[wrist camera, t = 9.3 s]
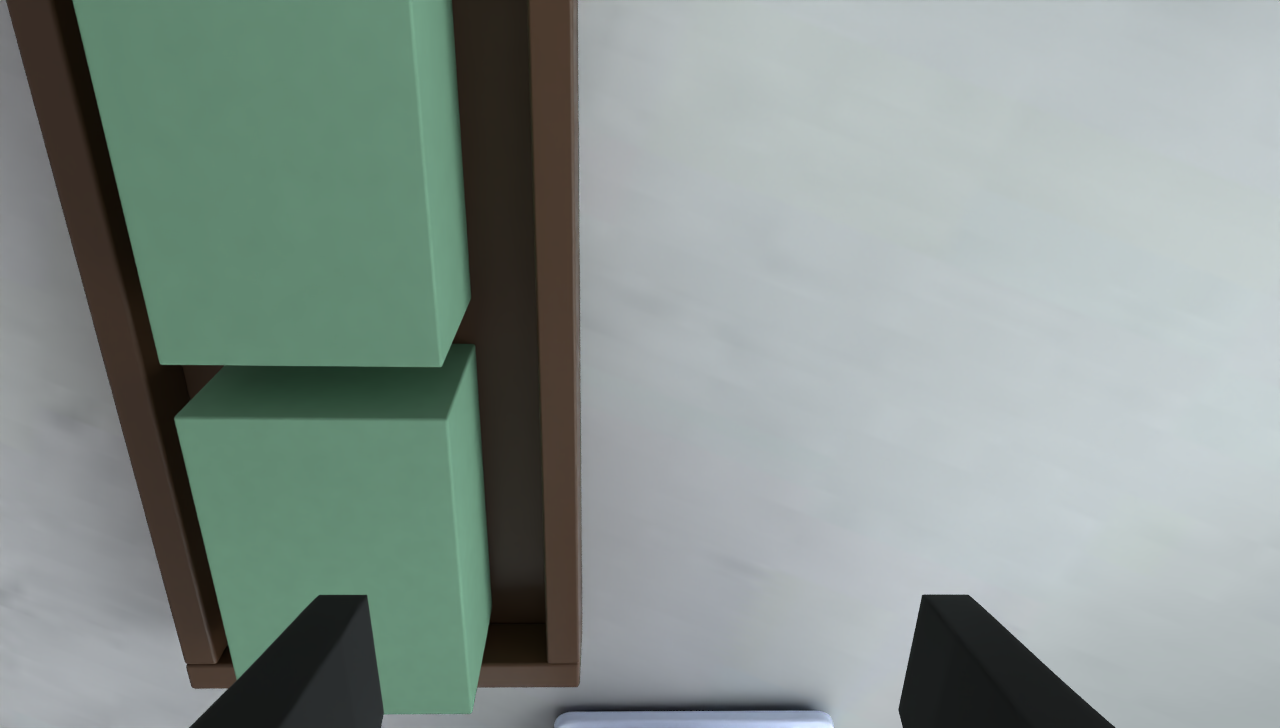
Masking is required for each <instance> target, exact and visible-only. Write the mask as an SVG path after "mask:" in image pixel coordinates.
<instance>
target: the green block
mask: <svg viewBox="0 0 1280 728" xmlns="http://www.w3.org/2000/svg"><path fill="white" fill-rule="evenodd" d="M174 421H175V425H176V429H177V433H178V437H179V441H180V446H181V450H182V454H183V458H184V462H185V467H186V471H187V475H188V479H189V483H190V487H191V492H192V496H193V500H194V504H195V508H196V513H197V517H198V521H199V525H200V529H201V533H202V538H203V542H204V546H205V550H206V554H207V559H208V563H209V567H210V571H211V575H212V579H213V584H214V588H215V592H216V596H217V600H218V604H219V609H220V613H221V617H222V621H223V625H224V630H225V634H226V638H227V642H228V646H229V650H230V655H231V659H232V663H233V667H234V671H235V676H236V680H237V679H238V678H239V677H240V676H241V675H242V674H243V673H244V672H245V671H246V670H247V669H248V668H249V667H250V666H251V665H252V664H253V663H254V662H255V661H256V660H257V659H258V658H259V657H260V656H261V655H262V653H263V652H264V651H265V650H266V649H267V648H268V647H269V646H270V645H271V644H272V643H273V642H274V641H275V640H276V639H277V638H278V637H279V636H280V634H281V633H282V632H283V631H284V630H285V629H286V628H287V627H288V626H289V625H290V624H291V623H292V622H293V621H294V620H295V619H296V617H297V616H298V615H299V614H300V613H301V612H302V611H303V610H304V609H305V608H306V607H307V606H308V605H309V604H310V603H311V602H312V601H313V600H314V599H315V598H316V597H317V596H318V595H367V597H368V604H369V611H370V618H371V625H372V632H373V639H374V646H375V653H376V660H377V667H378V674H379V681H380V688H381V695H382V701H383V708H384V714H471V713H472V711H473V706H474V700H475V695H476V690H477V685H478V679H479V674H480V669H481V664H482V658H483V653H484V648H485V643H486V637H487V632H488V627H489V622H490V616H491V611H492V596H491V580H490V565H489V549H488V534H487V518H486V503H485V487H484V472H483V456H482V441H481V425H480V410H479V395H478V379H477V364H476V348H475V345H474V344H451V346H450V349H449V351H448V353H447V356H446V358H445V360H444V363H443V365H442V366H441V367H363V366H255V365H225V366H224V367H223V368H222V369H221V370H220V371H219V372H218V373H217V374H216V375H215V376H214V377H213V378H212V379H211V380H210V381H209V382H208V383H207V384H206V385H205V386H204V387H203V388H202V389H201V390H200V391H199V392H198V393H197V394H196V395H195V396H194V397H193V399H192V400H191V401H190V402H189V403H188V404H187V405H186V406H185V407H184V408H183V409H182V410H181V411H180V412H179V413H178V414H177V415H176V416H175V418H174Z"/></svg>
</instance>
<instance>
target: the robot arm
mask: <svg viewBox="0 0 1280 728" xmlns="http://www.w3.org/2000/svg"><path fill="white" fill-rule="evenodd" d="M898 710H899V714H900V718H901V722H902V726H903V728H1115V727H1114V726H1113V725H1112V724H1111V723H1109V722H1108V721H1107V720H1106V719H1105V718H1104V717H1103V716H1101V715H1100V714H1099V713H1098V712H1097V711H1096V710H1095V709H1093V708H1092V707H1091V706H1090V705H1089V704H1088V703H1087V702H1085V701H1084V700H1083V699H1082V698H1081V697H1080V696H1079V695H1078V694H1076V693H1075V692H1074V691H1073V690H1072V689H1071V688H1070V687H1069V686H1068V685H1066V684H1065V683H1064V682H1063V681H1062V680H1061V679H1060V678H1059V677H1058V676H1057V675H1055V674H1054V673H1053V672H1052V671H1051V670H1050V669H1049V668H1048V667H1047V666H1046V665H1045V664H1043V663H1042V662H1041V661H1040V660H1039V659H1038V658H1037V657H1036V656H1035V655H1034V654H1033V653H1032V652H1030V651H1029V650H1028V649H1027V648H1026V647H1025V646H1024V645H1023V644H1022V643H1021V642H1020V641H1019V640H1018V639H1016V638H1015V637H1014V636H1013V635H1012V634H1011V633H1010V632H1009V631H1008V630H1007V629H1006V628H1005V627H1004V626H1002V625H1001V624H1000V623H999V622H998V621H997V620H996V619H995V618H994V617H993V616H992V615H991V614H990V613H988V612H987V611H986V610H985V609H984V608H983V607H982V606H981V605H980V604H978V603H977V602H976V601H975V600H974V599H973V598H972V597H970V596H969V595H922V599H921V604H920V609H919V613H918V618H917V623H916V628H915V633H914V637H913V642H912V647H911V652H910V657H909V661H908V666H907V671H906V676H905V681H904V685H903V690H902V695H901V700H900V704H899V709H898ZM383 715H384V708H383V701H382V695H381V688H380V681H379V674H378V667H377V660H376V653H375V646H374V639H373V632H372V625H371V618H370V611H369V604H368V597H367V595H318V596H317V597H316V598H315V599H314V600H313V601H312V602H311V603H310V604H309V605H308V606H307V607H306V608H305V609H304V610H303V611H302V612H301V613H300V614H299V615H298V616H297V617H296V619H295V620H294V621H293V622H292V623H291V624H290V625H289V626H288V627H287V628H286V629H285V630H284V631H283V632H282V633H281V634H280V636H279V637H278V638H277V639H276V640H275V641H274V642H273V643H272V644H271V645H270V646H269V647H268V648H267V649H266V650H265V651H264V652H263V653H262V655H261V656H260V657H259V658H258V659H257V660H256V661H255V662H254V663H253V664H252V665H251V666H250V667H249V668H248V669H247V670H246V671H245V672H244V673H243V674H242V675H241V676H240V677H239V678H238V679H237V680H236V681H235V682H234V683H233V684H232V685H231V686H230V687H229V688H228V689H227V690H226V691H225V692H224V693H223V694H222V695H221V696H220V697H219V698H218V699H217V700H216V701H215V702H214V703H213V705H212V706H211V707H210V708H209V709H208V710H207V711H206V712H205V713H204V714H203V715H202V716H201V717H200V718H199V719H198V720H197V721H196V722H195V723H193V724H192V725H191V726H190V727H189V728H381V724H382V719H383ZM554 728H834V725H833V721H832V718H831V717H830V715H829V714H827V713H825V712H823V711H613V712H567V713H564V714H562V715H560V716H559V717H558V718H557V719H556V721H555V725H554Z"/></svg>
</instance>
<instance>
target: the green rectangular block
mask: <svg viewBox="0 0 1280 728" xmlns="http://www.w3.org/2000/svg"><path fill="white" fill-rule="evenodd" d="M72 1H73V5H74V9H75V13H76V17H77V21H78V26H79V30H80V34H81V38H82V42H83V46H84V51H85V55H86V59H87V63H88V67H89V71H90V76H91V80H92V84H93V88H94V92H95V96H96V101H97V105H98V109H99V113H100V117H101V121H102V126H103V130H104V134H105V138H106V142H107V146H108V151H109V155H110V159H111V163H112V167H113V171H114V176H115V180H116V184H117V188H118V192H119V196H120V201H121V205H122V209H123V213H124V217H125V221H126V226H127V230H128V234H129V238H130V242H131V246H132V251H133V255H134V259H135V263H136V267H137V271H138V276H139V280H140V284H141V288H142V292H143V296H144V301H145V305H146V309H147V313H148V317H149V321H150V326H151V330H152V334H153V338H154V342H155V346H156V351H157V355H158V359H159V363H160V364H162V365H255V366H363V367H441V366H442V365H443V363H444V360H445V358H446V356H447V353H448V351H449V349H450V346H451V344H452V342H453V339H454V337H455V335H456V332H457V330H458V328H459V325H460V323H461V321H462V318H463V316H464V314H465V311H466V309H467V307H468V304H469V302H470V300H471V285H470V269H469V254H468V239H467V223H466V208H465V193H464V177H463V162H462V146H461V131H460V116H459V100H458V85H457V70H456V54H455V39H454V24H453V8H452V0H72Z"/></svg>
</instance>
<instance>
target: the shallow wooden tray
mask: <svg viewBox="0 0 1280 728" xmlns="http://www.w3.org/2000/svg"><path fill="white" fill-rule="evenodd" d="M6 2H7V6H8V10H9V14H10V17H11V21H12V25H13V28H14V32H15V36H16V39H17V43H18V47H19V50H20V54H21V58H22V62H23V65H24V69H25V73H26V76H27V80H28V84H29V87H30V91H31V95H32V98H33V102H34V106H35V110H36V113H37V117H38V121H39V124H40V128H41V132H42V135H43V139H44V143H45V147H46V150H47V154H48V158H49V161H50V165H51V169H52V172H53V176H54V180H55V183H56V187H57V191H58V195H59V198H60V202H61V206H62V209H63V213H64V217H65V220H66V224H67V228H68V232H69V235H70V239H71V243H72V246H73V250H74V254H75V257H76V261H77V265H78V268H79V272H80V276H81V280H82V283H83V287H84V291H85V294H86V298H87V302H88V305H89V309H90V313H91V317H92V320H93V324H94V328H95V331H96V335H97V339H98V342H99V346H100V350H101V353H102V357H103V361H104V365H105V368H106V372H107V376H108V379H109V383H110V387H111V390H112V394H113V398H114V401H115V405H116V409H117V413H118V416H119V420H120V424H121V427H122V431H123V435H124V438H125V442H126V446H127V450H128V453H129V457H130V461H131V464H132V468H133V472H134V475H135V479H136V483H137V486H138V490H139V494H140V498H141V501H142V505H143V509H144V512H145V516H146V520H147V523H148V527H149V531H150V535H151V538H152V542H153V546H154V549H155V553H156V557H157V560H158V564H159V568H160V571H161V575H162V579H163V583H164V586H165V590H166V594H167V597H168V601H169V605H170V608H171V612H172V616H173V619H174V623H175V627H176V631H177V634H178V638H179V642H180V645H181V649H182V653H183V656H184V660H185V662H186V663H187V667H186V668H187V672H188V675H189V679H190V683H191V686H192V688H195V689H204V688H229V687H230V686H231V685H232V684H233V683H234V682H235V681H236V676H235V671H234V667H233V663H232V659H231V655H230V650H229V646H228V642H227V638H226V634H225V630H224V625H223V621H222V617H221V613H220V609H219V604H218V600H217V596H216V592H215V588H214V584H213V579H212V575H211V571H210V567H209V563H208V559H207V554H206V550H205V546H204V542H203V538H202V533H201V529H200V525H199V521H198V517H197V513H196V508H195V504H194V500H193V496H192V492H191V487H190V483H189V479H188V475H187V471H186V467H185V462H184V458H183V454H182V450H181V446H180V441H179V437H178V433H177V429H176V425H175V421H174V418H175V416H176V415H177V414H178V413H179V412H180V411H181V410H182V409H183V408H184V407H185V406H186V405H187V404H188V403H189V402H190V401H191V400H192V399H193V397H194V396H195V395H196V394H197V393H198V392H199V391H200V390H201V389H202V388H203V387H204V386H205V385H206V384H207V383H208V382H209V381H210V380H211V379H212V378H213V377H214V376H215V375H216V374H217V373H218V372H219V371H220V370H221V369H222V368H223V367H224V366H225V365H162V364H160V363H159V359H158V355H157V351H156V346H155V342H154V338H153V334H152V330H151V326H150V321H149V317H148V313H147V309H146V305H145V301H144V296H143V292H142V288H141V284H140V280H139V276H138V271H137V267H136V263H135V259H134V255H133V251H132V246H131V242H130V238H129V234H128V230H127V226H126V221H125V217H124V213H123V209H122V205H121V201H120V196H119V192H118V188H117V184H116V180H115V176H114V171H113V167H112V163H111V159H110V155H109V151H108V146H107V142H106V138H105V134H104V130H103V126H102V121H101V117H100V113H99V109H98V105H97V101H96V96H95V92H94V88H93V84H92V80H91V76H90V71H89V67H88V63H87V59H86V55H85V51H84V46H83V42H82V38H81V34H80V30H79V26H78V21H77V17H76V13H75V9H74V5H73V1H72V0H6ZM452 8H453V24H454V39H455V54H456V70H457V85H458V100H459V116H460V131H461V146H462V162H463V177H464V193H465V208H466V223H467V239H468V254H469V269H470V285H471V300H470V302H469V304H468V307H467V309H466V311H465V314H464V316H463V318H462V321H461V323H460V325H459V328H458V330H457V332H456V335H455V337H454V339H453V342H452V344H474V345H475V348H476V364H477V379H478V395H479V410H480V425H481V441H482V456H483V472H484V487H485V503H486V518H487V534H488V549H489V565H490V580H491V596H492V611H491V616H490V622H489V627H488V632H487V637H486V643H485V648H484V653H483V658H482V664H481V669H480V674H479V679H478V685H477V687H578V685H579V683H580V666H581V642H582V540H581V402H580V264H579V126H578V0H452Z"/></svg>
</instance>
